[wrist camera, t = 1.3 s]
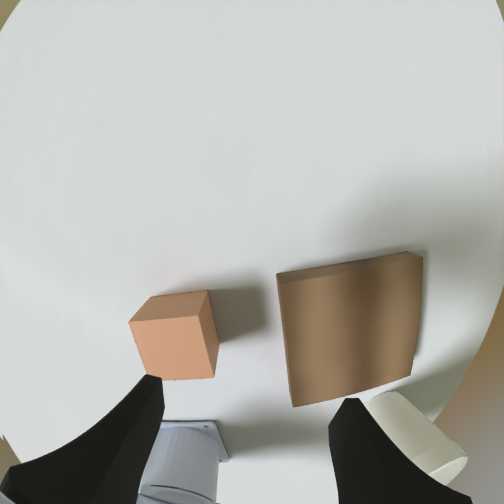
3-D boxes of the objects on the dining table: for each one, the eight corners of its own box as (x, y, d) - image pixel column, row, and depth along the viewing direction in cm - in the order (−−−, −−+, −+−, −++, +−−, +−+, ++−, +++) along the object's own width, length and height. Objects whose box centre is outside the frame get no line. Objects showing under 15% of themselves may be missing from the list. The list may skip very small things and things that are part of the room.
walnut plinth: (288, 387, 24) (293, 407, 21) (275, 272, 22) (280, 283, 19) (397, 360, 24) (410, 375, 21) (404, 250, 22) (422, 257, 19)
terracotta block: (165, 347, 22) (149, 380, 18) (150, 296, 21) (128, 321, 17) (219, 343, 22) (214, 377, 18) (207, 289, 21) (197, 315, 17)
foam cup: (375, 374, 24) (434, 462, 11) (426, 384, 25) (481, 450, 12) (328, 433, 25) (357, 521, 13) (382, 438, 26) (418, 507, 13)
